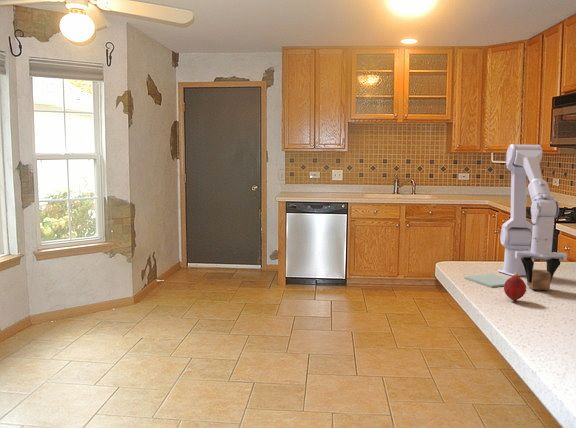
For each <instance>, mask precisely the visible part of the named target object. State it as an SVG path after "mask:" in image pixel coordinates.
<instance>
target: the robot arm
mask: <svg viewBox="0 0 576 428" xmlns="http://www.w3.org/2000/svg"><path fill="white" fill-rule="evenodd" d="M543 152H544V151H543V147H542V146H541V145H540V144H515V143H510V145H508V147H507V150H506V155H505V156H506V157H505V158H506V160H505V163H506V169H507V170H509V171H510V218H509V219H508V220H507V221H505V222H504V223H503V224H502V225H501V230H500V234H499V235H500V237H499V238H500V239H499V241H500V244H501V245H502V246H503V248H504V258H503V269H497V272H498V273H503V274H506V275H509V276H511V277H513V276H514V274H515V273H517V274H518V277H523V276H525V277H526V282H527V281H528V282H531V281H532V270H533V269H535V268H534V267H535V260H546V261H545V262H546V271H548V272H549V273H551V279H550V284H551V282H552V279H553V277H554V274H555V273H556V271H557V270H558V268H559V267H560V265H561V261H568V260H567V259H568V253H565V252H555V251H553V250H552V249H553V239H554V227H555V225H554V224H555V219H556V218H557V217H558V216H559V213H560V204H559V201H558V199H556V198H555V196H552V193H551V191H550V187H549V183H548V182H547V180H545V179H543V177H542V170H541V166H540V164H541V161H542V159H543ZM527 179H528V181H529V183H528V185H527ZM527 189H528V193H529V196H530V200H531V206H530V215H531V222H530V221H528V220H527ZM552 251H553V252H552Z"/></svg>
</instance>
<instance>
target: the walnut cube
mask: <svg viewBox="0 0 576 428" xmlns="http://www.w3.org/2000/svg"><path fill="white" fill-rule="evenodd" d="M550 279H551V273H549V272H548V271H547V269H535V268H534V269H533V270H532V281H531V282H528V281H527V280H526V282H527V283H526V286H527V287H529V288H531V289H532V290H543V291H545V290H546V291H550V288H551V283H550Z"/></svg>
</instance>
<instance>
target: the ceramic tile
mask: <svg viewBox="0 0 576 428" xmlns="http://www.w3.org/2000/svg"><path fill="white" fill-rule="evenodd" d="M463 278H464V279H466V280H468V281H471V282H473V283H477V284H479V285H480V284H481V285H483V286H486V287H488V288H500V287H504V284H505V282H506V281H507V280H508V279H509V278H508V277H504V276H502V275H499V274H496V273H486V274H476V275H475V274H474V275H467V276H466V275H465V276H464V277H463Z"/></svg>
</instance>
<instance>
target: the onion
mask: <svg viewBox="0 0 576 428" xmlns="http://www.w3.org/2000/svg"><path fill="white" fill-rule="evenodd" d="M503 291H504V293H505V295H506V297H507V298H509V300H511V301H513V302H516V301H518V300H520V299H521V298H523V296H524V295H525V294H526V293H527V284H526V283H525V281H524V280H523V278H521V277H520V276H518V274H517V273H515V274H514V276H511V277H509V278H508V280H507V281H506V282H505V284H504V286H503Z"/></svg>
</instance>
